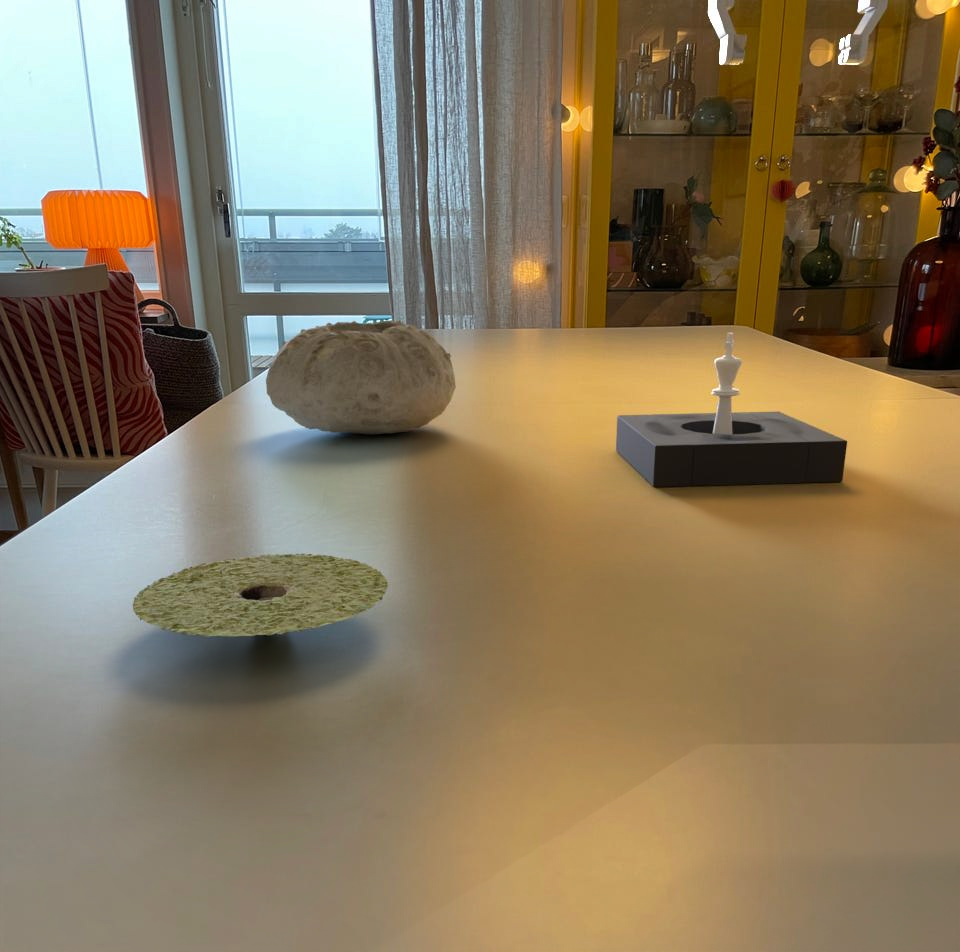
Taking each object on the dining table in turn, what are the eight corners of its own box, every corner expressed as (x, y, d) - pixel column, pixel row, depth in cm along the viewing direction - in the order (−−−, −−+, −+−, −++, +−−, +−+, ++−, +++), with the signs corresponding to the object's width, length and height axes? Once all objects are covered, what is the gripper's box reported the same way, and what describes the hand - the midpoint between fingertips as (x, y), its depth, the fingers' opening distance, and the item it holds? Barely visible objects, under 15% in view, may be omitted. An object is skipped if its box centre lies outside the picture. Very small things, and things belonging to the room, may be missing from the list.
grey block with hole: (775, 446, 84) (779, 411, 82) (842, 482, 71) (847, 440, 69) (615, 450, 83) (617, 415, 82) (653, 487, 70) (655, 445, 69)
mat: (440, 625, 44) (439, 585, 44) (226, 703, 37) (220, 656, 36) (296, 574, 52) (293, 539, 51) (94, 631, 44) (87, 590, 44)
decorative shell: (452, 447, 85) (449, 328, 81) (251, 449, 86) (239, 330, 82) (460, 415, 102) (458, 315, 98) (292, 417, 102) (283, 317, 98)
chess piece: (683, 469, 75) (692, 335, 72) (693, 457, 80) (702, 330, 76) (748, 473, 74) (760, 336, 70) (755, 460, 78) (767, 331, 74)
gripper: (931, -141, 73) (904, 70, 78) (663, -143, 72) (653, 71, 77) (976, -175, 67) (943, 55, 72) (685, -178, 66) (673, 56, 71)
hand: (791, 63), depth 75 cm, fingers open, 8 cm apart
